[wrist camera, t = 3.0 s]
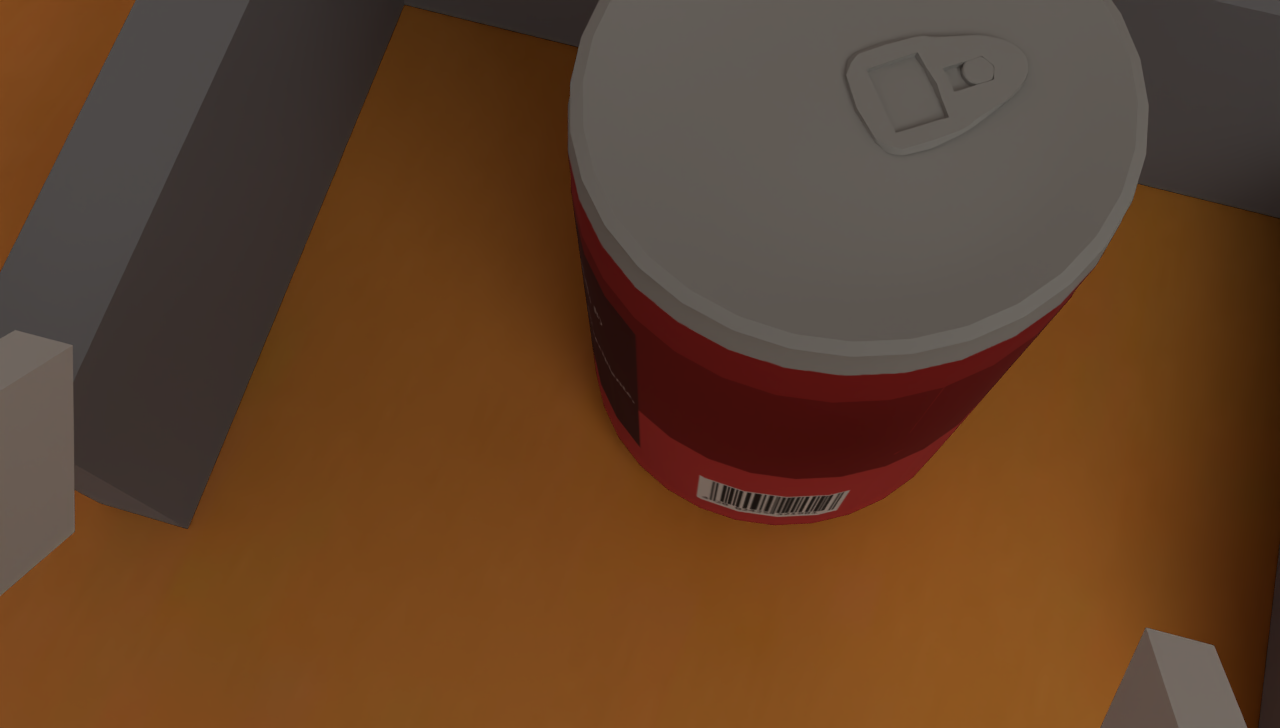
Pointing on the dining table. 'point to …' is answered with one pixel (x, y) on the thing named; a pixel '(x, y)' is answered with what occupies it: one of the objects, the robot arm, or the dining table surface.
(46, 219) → the open box
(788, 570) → the dining table surface
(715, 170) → the canned food
